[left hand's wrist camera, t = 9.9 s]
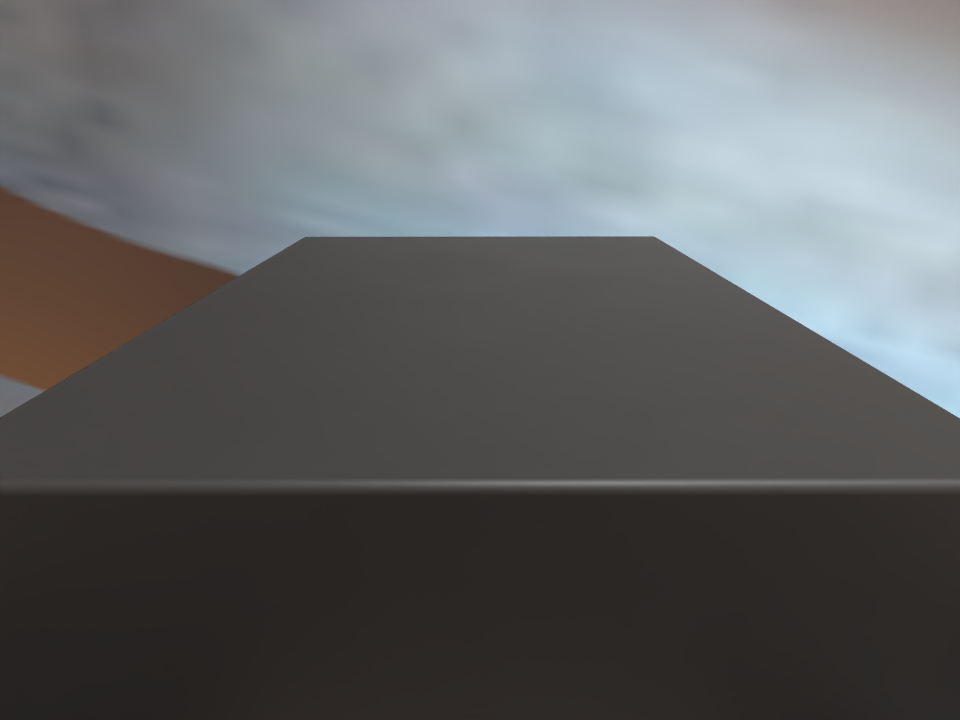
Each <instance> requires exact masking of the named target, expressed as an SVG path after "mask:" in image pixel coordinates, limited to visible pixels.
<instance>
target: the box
mask: <svg viewBox="0 0 960 720" xmlns="http://www.w3.org/2000/svg"><path fill="white" fill-rule="evenodd" d="M0 720H960V418H958V417H956V416H955V415H953V414H951V413H950V412H948V411H946V410H945V409H943V408H941V407H940V406H938V405H936V404H935V403H933V402H931V401H930V400H928V399H926V398H925V397H923V396H921V395H920V394H918V393H916V392H914V391H913V390H911V389H909V388H908V387H906V386H904V385H903V384H901V383H899V382H898V381H896V380H894V379H893V378H891V377H889V376H888V375H886V374H884V373H883V372H881V371H879V370H878V369H876V368H874V367H872V366H871V365H869V364H867V363H866V362H864V361H862V360H861V359H859V358H857V357H856V356H854V355H852V354H851V353H849V352H847V351H846V350H844V349H842V348H841V347H839V346H837V345H836V344H834V343H832V342H830V341H829V340H827V339H825V338H824V337H822V336H820V335H819V334H817V333H815V332H814V331H812V330H810V329H809V328H807V327H805V326H804V325H802V324H800V323H799V322H797V321H795V320H794V319H792V318H790V317H788V316H787V315H785V314H783V313H782V312H780V311H778V310H777V309H775V308H773V307H772V306H770V305H768V304H767V303H765V302H763V301H762V300H760V299H758V298H757V297H755V296H753V295H752V294H750V293H748V292H746V291H745V290H743V289H741V288H740V287H738V286H736V285H735V284H733V283H731V282H730V281H728V280H726V279H725V278H723V277H721V276H720V275H718V274H716V273H715V272H713V271H711V270H710V269H708V268H706V267H704V266H703V265H701V264H699V263H698V262H696V261H694V260H693V259H691V258H689V257H688V256H686V255H684V254H683V253H681V252H679V251H678V250H676V249H674V248H673V247H671V246H669V245H668V244H666V243H664V242H662V241H661V240H659V239H657V238H656V237H305V238H303V239H301V240H299V241H298V242H296V243H294V244H293V245H291V246H289V247H288V248H286V249H284V250H283V251H281V252H279V253H277V254H276V255H274V256H272V257H271V258H269V259H267V260H266V261H264V262H262V263H261V264H259V265H257V266H256V267H254V268H252V269H250V270H249V271H247V272H245V273H244V274H242V275H240V276H239V277H237V278H235V279H234V280H232V281H230V282H229V283H227V284H225V285H223V286H222V287H220V288H218V289H217V290H215V291H213V292H212V293H210V294H208V295H207V296H205V297H203V298H201V299H200V300H198V301H196V302H195V303H193V304H191V305H190V306H188V307H186V308H185V309H183V310H181V311H179V312H178V313H176V314H175V315H173V316H171V317H169V318H168V319H166V320H164V321H163V322H161V323H159V324H158V325H156V326H154V327H152V328H151V329H149V330H147V331H146V332H144V333H142V334H141V335H139V336H137V337H136V338H134V339H132V340H131V341H129V342H127V343H125V344H124V345H122V346H120V347H119V348H117V349H115V350H114V351H112V352H110V353H109V354H107V355H105V356H104V357H102V358H100V359H99V360H97V361H95V362H93V363H92V364H90V365H88V366H87V367H85V368H83V369H82V370H80V371H78V372H76V373H75V374H73V375H71V376H70V377H68V378H66V379H65V380H63V381H61V382H60V383H58V384H56V385H55V386H53V387H51V388H49V389H48V390H46V391H44V392H43V393H41V394H39V395H38V396H36V397H34V398H33V399H31V400H29V401H27V402H26V403H24V404H22V405H21V406H19V407H17V408H16V409H14V410H12V411H11V412H9V413H7V414H6V415H4V416H2V417H0Z"/></svg>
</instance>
